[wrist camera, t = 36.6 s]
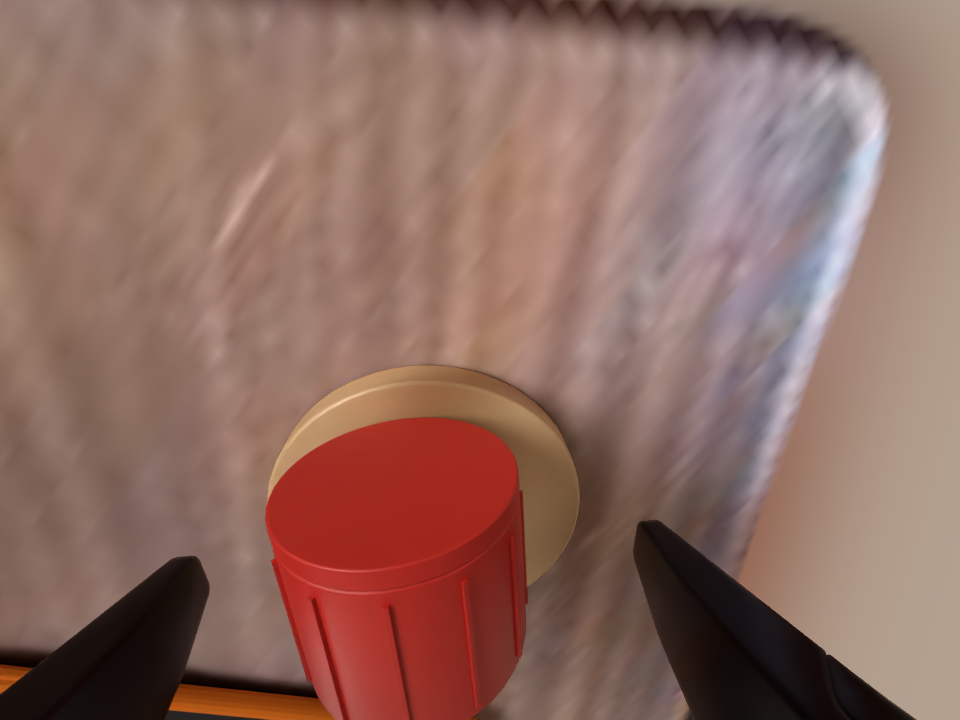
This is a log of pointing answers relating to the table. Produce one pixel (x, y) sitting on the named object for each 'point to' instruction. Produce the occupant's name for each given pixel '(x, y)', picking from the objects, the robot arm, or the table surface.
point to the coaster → (467, 400)
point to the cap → (403, 568)
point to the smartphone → (220, 702)
